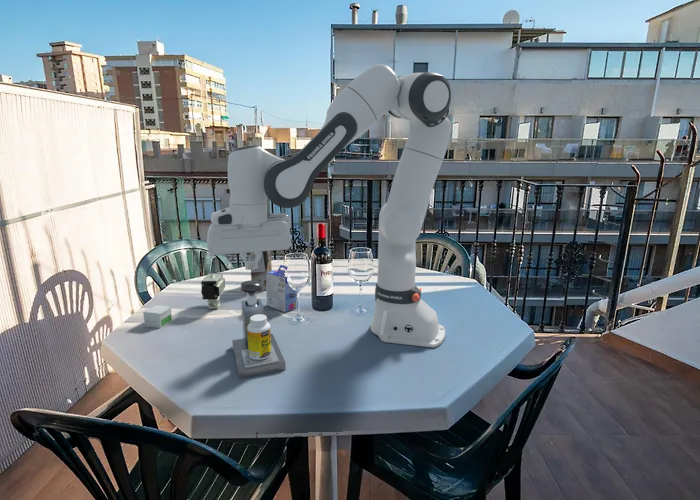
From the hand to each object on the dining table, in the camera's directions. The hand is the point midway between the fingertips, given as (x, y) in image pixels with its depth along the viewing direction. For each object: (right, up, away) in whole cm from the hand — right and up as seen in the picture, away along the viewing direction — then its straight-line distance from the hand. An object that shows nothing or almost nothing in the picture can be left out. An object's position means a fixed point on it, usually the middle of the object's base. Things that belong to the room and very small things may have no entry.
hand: (251, 268), depth 95 cm
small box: (-34, -18, +21) cm, 44 cm away
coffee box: (-10, -10, +54) cm, 56 cm away
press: (+1, -23, +3) cm, 23 cm away
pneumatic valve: (-21, -15, +34) cm, 42 cm away
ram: (-1, -16, +6) cm, 17 cm away
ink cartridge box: (+1, -15, +35) cm, 38 cm away
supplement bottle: (+2, -22, -1) cm, 22 cm away
